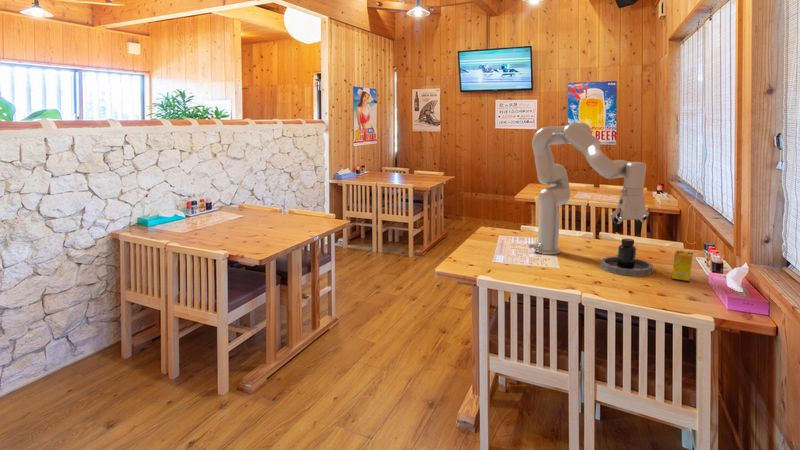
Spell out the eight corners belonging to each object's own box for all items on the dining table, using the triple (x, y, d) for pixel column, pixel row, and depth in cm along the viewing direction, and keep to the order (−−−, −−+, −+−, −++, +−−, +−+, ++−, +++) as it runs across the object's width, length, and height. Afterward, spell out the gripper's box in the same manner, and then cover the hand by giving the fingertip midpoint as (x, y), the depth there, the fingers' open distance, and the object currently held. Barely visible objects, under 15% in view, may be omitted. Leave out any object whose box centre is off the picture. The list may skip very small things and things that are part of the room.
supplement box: (672, 276, 187) (675, 250, 185) (690, 278, 184) (693, 252, 182) (671, 280, 183) (674, 253, 180) (689, 282, 179) (692, 255, 177)
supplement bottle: (636, 269, 194) (639, 241, 191) (619, 268, 195) (621, 241, 193) (632, 264, 200) (634, 237, 198) (615, 264, 202) (617, 237, 199)
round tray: (619, 277, 186) (620, 271, 186) (591, 263, 206) (591, 258, 205) (663, 274, 190) (664, 268, 189) (631, 260, 209) (631, 255, 208)
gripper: (619, 194, 186) (614, 235, 190) (657, 193, 189) (651, 233, 193) (608, 191, 193) (603, 230, 197) (645, 190, 196) (639, 229, 200)
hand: (627, 232), depth 195 cm, fingers open, 9 cm apart
